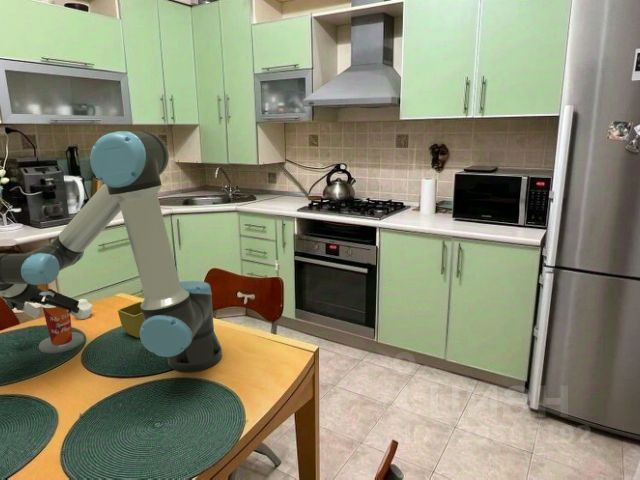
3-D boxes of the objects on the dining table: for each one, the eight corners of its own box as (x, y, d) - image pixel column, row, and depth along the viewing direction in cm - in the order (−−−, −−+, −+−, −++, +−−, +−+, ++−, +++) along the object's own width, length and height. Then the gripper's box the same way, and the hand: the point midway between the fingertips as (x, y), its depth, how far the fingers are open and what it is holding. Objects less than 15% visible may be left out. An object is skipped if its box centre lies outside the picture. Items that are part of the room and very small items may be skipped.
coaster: (85, 346, 136) (85, 343, 136) (39, 357, 130) (39, 353, 129) (81, 332, 146) (81, 328, 146) (39, 341, 140) (38, 338, 139)
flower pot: (160, 331, 146) (157, 306, 143) (137, 342, 139) (133, 315, 136) (143, 325, 150) (140, 301, 148) (120, 335, 143) (116, 310, 141)
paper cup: (56, 349, 132) (48, 305, 129) (42, 342, 136) (35, 300, 133) (81, 338, 139) (75, 296, 135) (68, 333, 143) (61, 292, 139)
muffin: (74, 322, 153) (71, 303, 152) (74, 316, 159) (71, 297, 157) (94, 318, 156) (91, 300, 155) (93, 312, 162) (90, 294, 160)
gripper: (-36, 298, 117) (15, 326, 135) (55, 298, 116) (94, 326, 134) (-24, 272, 121) (24, 303, 139) (64, 272, 120) (101, 303, 138)
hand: (58, 314), depth 137 cm, fingers open, 13 cm apart
